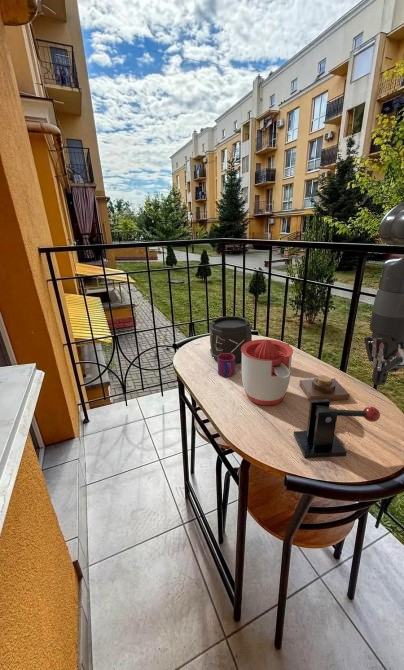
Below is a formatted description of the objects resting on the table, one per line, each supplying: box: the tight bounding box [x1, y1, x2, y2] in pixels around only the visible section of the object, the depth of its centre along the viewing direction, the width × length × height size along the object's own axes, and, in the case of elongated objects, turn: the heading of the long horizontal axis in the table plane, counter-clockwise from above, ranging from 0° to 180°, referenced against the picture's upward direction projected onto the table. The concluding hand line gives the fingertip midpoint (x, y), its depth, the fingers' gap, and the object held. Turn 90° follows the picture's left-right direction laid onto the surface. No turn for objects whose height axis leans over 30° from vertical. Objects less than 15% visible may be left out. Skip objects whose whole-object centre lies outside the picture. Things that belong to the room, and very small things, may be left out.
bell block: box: [299, 376, 350, 402], centre depth 91 cm, size 12×10×4 cm
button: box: [317, 374, 332, 386], centre depth 91 cm, size 4×4×2 cm
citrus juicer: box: [241, 338, 294, 406], centre depth 87 cm, size 16×17×20 cm
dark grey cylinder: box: [208, 315, 253, 365], centre depth 118 cm, size 18×18×16 cm
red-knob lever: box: [315, 405, 381, 423], centre depth 67 cm, size 15×4×4 cm, turn 91°
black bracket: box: [293, 399, 348, 459], centre depth 68 cm, size 10×8×12 cm
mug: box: [216, 353, 236, 378], centre depth 105 cm, size 7×10×7 cm
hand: (378, 383), depth 65 cm, fingers closed
